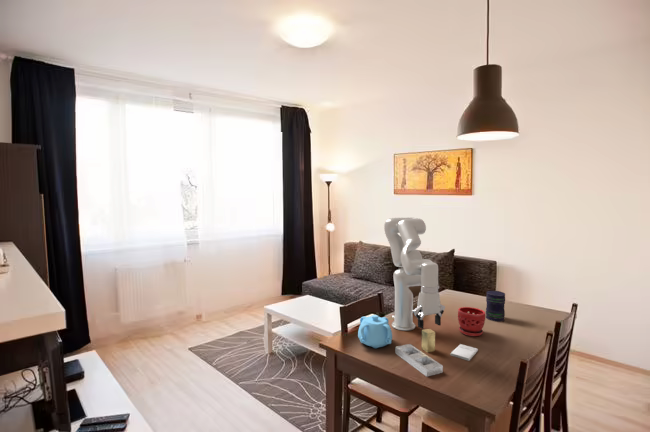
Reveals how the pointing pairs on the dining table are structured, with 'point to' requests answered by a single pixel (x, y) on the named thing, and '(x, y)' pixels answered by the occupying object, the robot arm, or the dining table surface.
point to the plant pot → (471, 321)
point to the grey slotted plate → (419, 360)
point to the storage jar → (495, 306)
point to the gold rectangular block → (428, 340)
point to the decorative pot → (375, 331)
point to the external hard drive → (464, 352)
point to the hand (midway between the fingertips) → (429, 326)
